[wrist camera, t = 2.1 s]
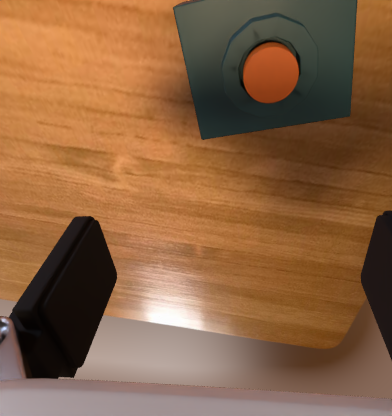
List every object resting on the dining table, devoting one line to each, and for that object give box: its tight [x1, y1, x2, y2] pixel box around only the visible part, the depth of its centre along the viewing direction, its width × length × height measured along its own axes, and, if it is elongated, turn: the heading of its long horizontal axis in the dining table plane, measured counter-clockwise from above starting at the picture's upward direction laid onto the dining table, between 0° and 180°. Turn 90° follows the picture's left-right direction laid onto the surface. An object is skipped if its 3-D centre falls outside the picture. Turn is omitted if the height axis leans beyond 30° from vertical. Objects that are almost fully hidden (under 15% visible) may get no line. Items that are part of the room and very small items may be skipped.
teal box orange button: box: [173, 0, 357, 140], centre depth 24 cm, size 12×10×5 cm
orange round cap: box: [243, 42, 299, 103], centre depth 22 cm, size 4×4×2 cm
